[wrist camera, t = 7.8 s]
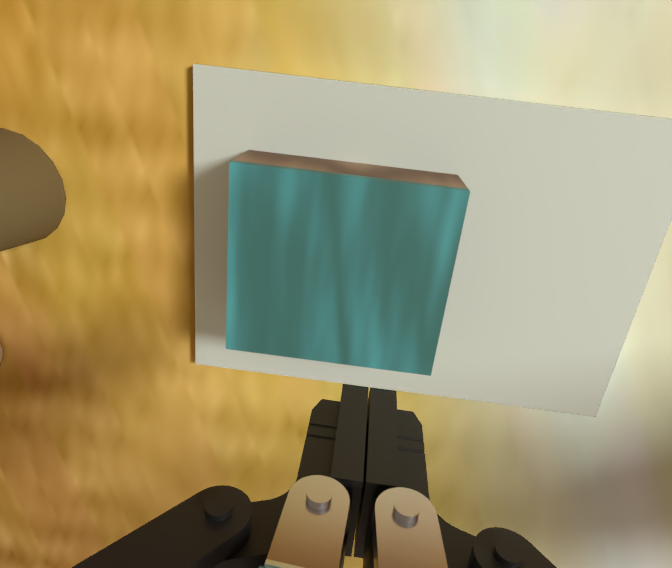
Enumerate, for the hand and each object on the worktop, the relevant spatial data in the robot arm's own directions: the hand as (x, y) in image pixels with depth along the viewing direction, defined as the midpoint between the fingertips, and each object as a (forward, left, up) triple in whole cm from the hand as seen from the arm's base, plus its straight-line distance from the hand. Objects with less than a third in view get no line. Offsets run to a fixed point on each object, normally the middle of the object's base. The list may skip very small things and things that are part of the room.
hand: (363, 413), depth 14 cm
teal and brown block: (-4, 0, -11) cm, 12 cm away
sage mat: (-2, 0, -13) cm, 13 cm away
